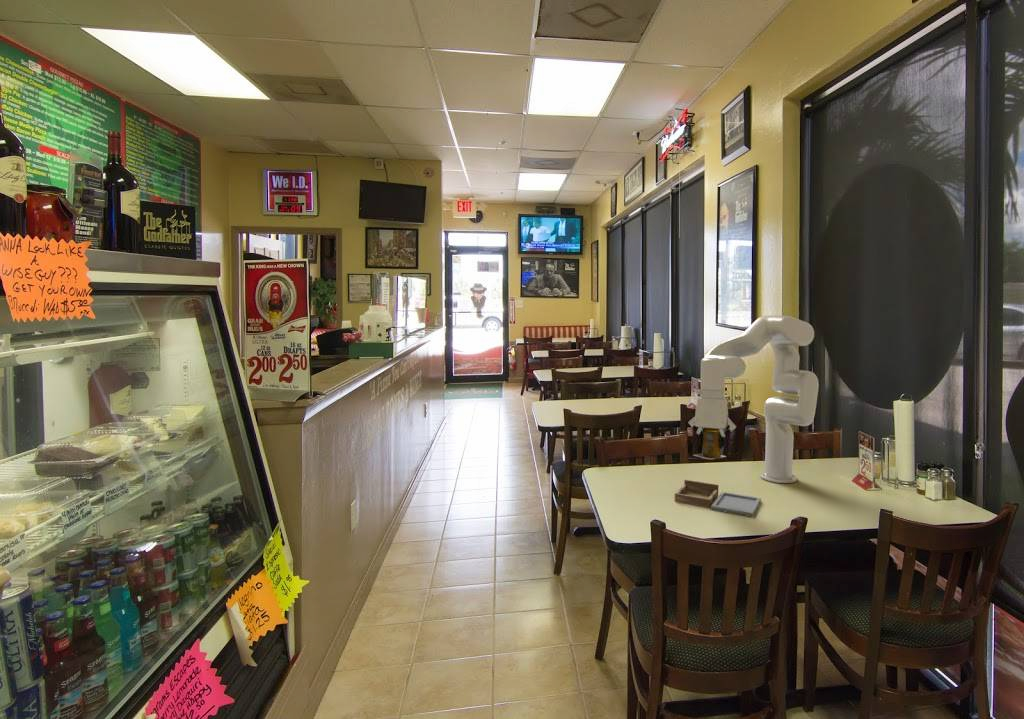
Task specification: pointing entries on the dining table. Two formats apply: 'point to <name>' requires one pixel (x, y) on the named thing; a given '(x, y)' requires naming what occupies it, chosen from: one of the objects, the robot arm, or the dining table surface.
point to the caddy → (697, 488)
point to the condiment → (711, 444)
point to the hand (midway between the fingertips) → (711, 445)
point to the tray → (736, 503)
